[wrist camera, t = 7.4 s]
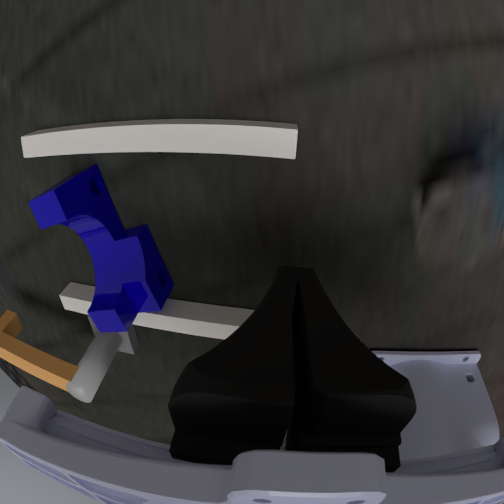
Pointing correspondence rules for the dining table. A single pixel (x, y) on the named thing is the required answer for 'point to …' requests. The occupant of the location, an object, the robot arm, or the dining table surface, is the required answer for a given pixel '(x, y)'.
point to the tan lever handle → (55, 370)
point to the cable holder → (108, 249)
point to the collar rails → (166, 140)
